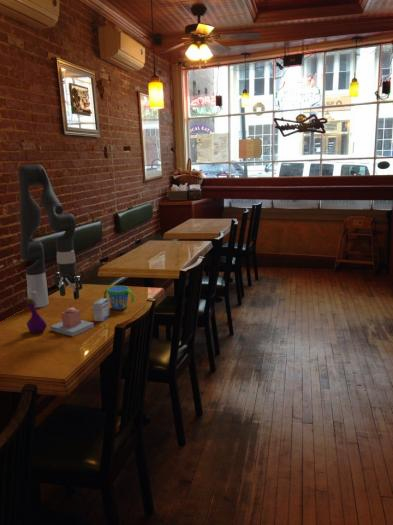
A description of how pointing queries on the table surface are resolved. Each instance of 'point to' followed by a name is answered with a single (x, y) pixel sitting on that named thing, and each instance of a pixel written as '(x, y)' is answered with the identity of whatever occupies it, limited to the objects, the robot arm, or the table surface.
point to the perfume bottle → (35, 318)
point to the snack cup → (119, 296)
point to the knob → (71, 317)
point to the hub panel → (72, 328)
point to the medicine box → (101, 309)
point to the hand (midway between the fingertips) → (69, 297)
